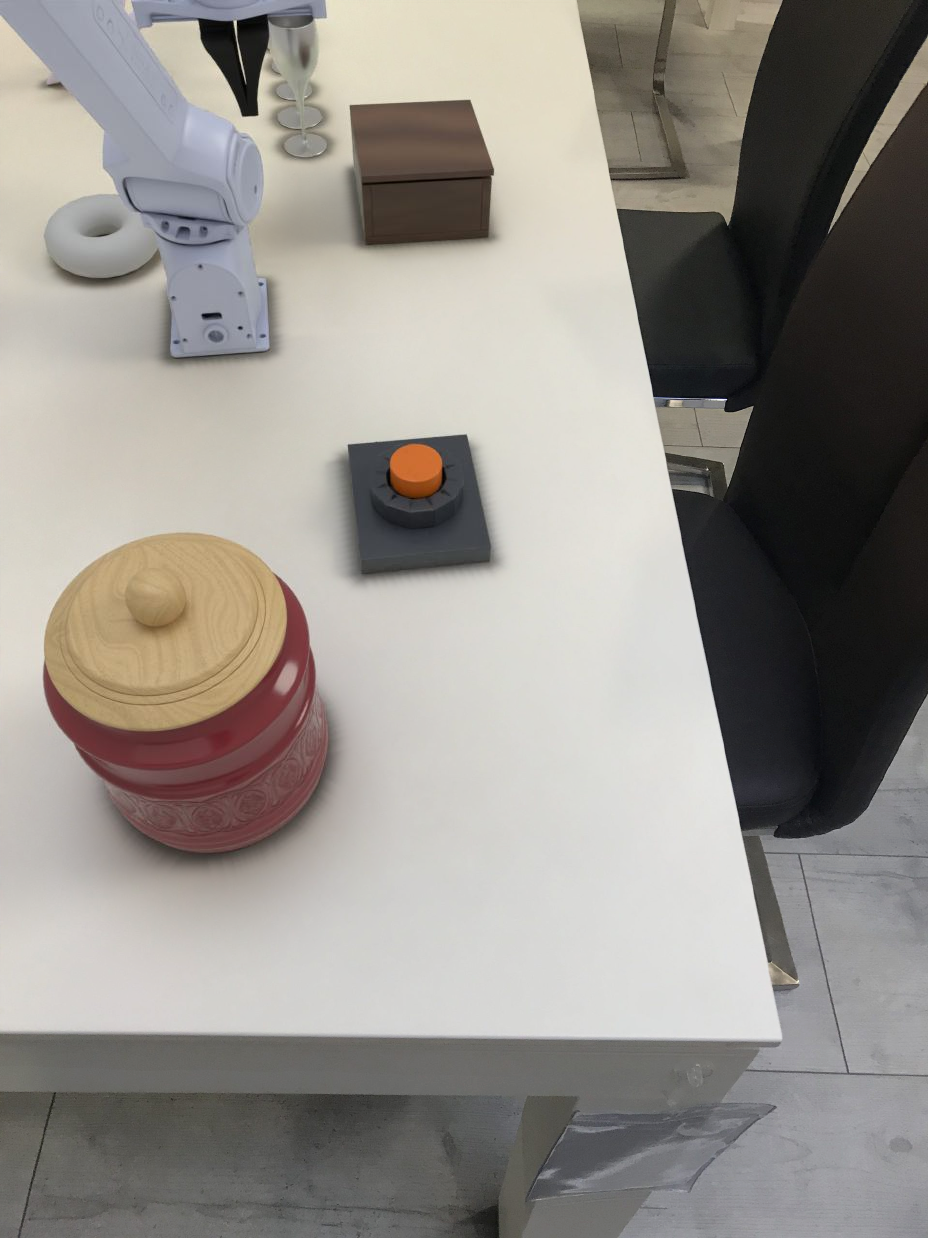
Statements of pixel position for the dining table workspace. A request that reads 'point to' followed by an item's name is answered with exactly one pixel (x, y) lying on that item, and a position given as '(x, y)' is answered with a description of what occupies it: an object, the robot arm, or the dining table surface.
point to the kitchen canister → (189, 689)
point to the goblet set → (296, 78)
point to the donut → (99, 256)
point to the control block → (417, 510)
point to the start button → (416, 471)
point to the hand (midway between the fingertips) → (249, 109)
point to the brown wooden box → (423, 208)
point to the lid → (419, 141)
